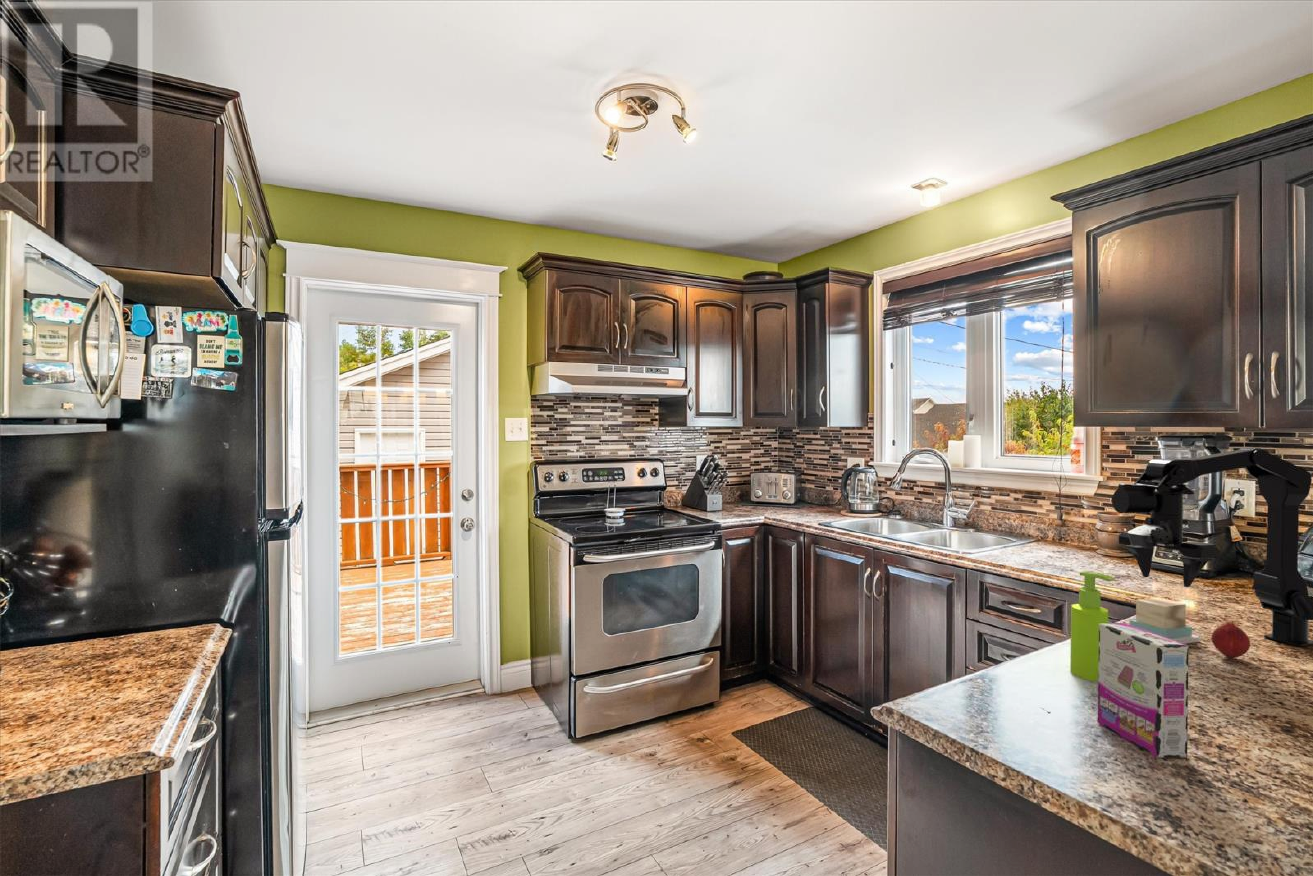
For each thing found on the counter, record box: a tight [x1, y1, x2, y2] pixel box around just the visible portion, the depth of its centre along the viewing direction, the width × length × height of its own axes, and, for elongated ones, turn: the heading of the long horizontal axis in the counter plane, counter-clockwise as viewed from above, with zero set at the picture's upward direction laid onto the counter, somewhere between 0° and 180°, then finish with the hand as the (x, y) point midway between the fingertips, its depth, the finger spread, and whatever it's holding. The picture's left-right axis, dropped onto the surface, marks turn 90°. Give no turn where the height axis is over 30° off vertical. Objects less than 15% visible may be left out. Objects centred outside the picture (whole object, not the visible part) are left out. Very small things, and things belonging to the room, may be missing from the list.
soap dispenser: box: [1070, 570, 1116, 682], centre depth 117 cm, size 6×7×20 cm
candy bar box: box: [1097, 622, 1190, 759], centre depth 93 cm, size 11×5×16 cm, turn 5°
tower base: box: [1129, 618, 1201, 645], centre depth 140 cm, size 10×10×3 cm
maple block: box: [1135, 597, 1187, 629], centre depth 140 cm, size 7×6×5 cm
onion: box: [1211, 619, 1251, 660], centre depth 127 cm, size 6×6×8 cm
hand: (1165, 581), depth 139 cm, fingers open, 9 cm apart
